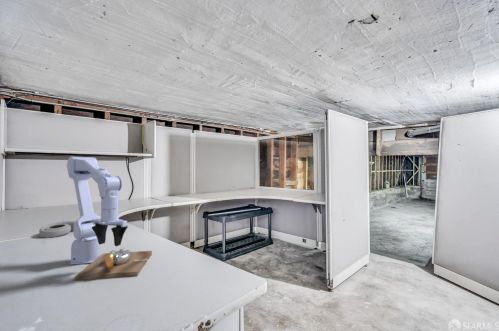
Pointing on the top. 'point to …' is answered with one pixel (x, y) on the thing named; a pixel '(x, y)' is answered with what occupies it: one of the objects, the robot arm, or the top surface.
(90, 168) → the robot arm
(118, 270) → the plain tan brown board
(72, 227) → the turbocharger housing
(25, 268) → the top surface
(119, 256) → the crank handle wheel
